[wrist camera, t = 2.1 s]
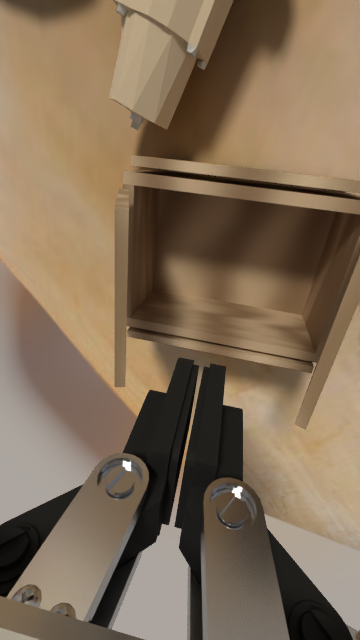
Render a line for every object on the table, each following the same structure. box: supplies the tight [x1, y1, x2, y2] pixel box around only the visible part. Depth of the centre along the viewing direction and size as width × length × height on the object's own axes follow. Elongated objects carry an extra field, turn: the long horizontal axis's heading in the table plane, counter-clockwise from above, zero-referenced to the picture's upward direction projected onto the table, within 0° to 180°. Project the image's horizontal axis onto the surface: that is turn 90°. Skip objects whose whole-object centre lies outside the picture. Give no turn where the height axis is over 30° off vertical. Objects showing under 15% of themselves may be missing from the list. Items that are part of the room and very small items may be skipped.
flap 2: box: [295, 253, 360, 429], centre depth 17 cm, size 1×10×8 cm, turn 175°
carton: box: [123, 155, 360, 373], centre depth 26 cm, size 17×14×8 cm
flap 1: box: [115, 189, 129, 387], centre depth 19 cm, size 1×10×8 cm, turn 173°
